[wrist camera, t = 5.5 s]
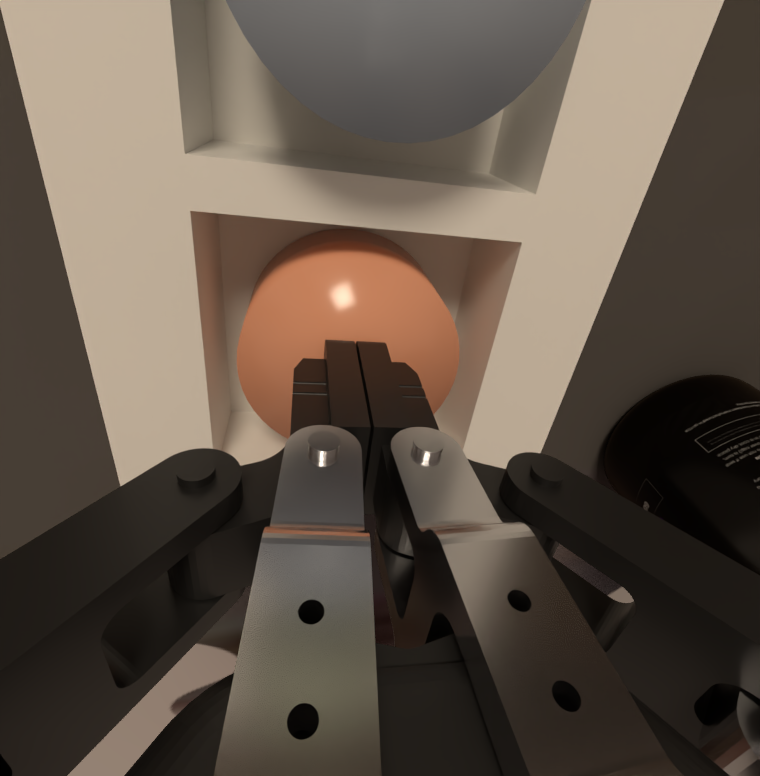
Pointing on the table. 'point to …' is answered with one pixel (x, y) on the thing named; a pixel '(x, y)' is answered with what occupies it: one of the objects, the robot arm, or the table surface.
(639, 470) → the supplement bottle
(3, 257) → the table surface
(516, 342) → the button box
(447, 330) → the button terracotta
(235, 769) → the robot arm
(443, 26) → the button slate
